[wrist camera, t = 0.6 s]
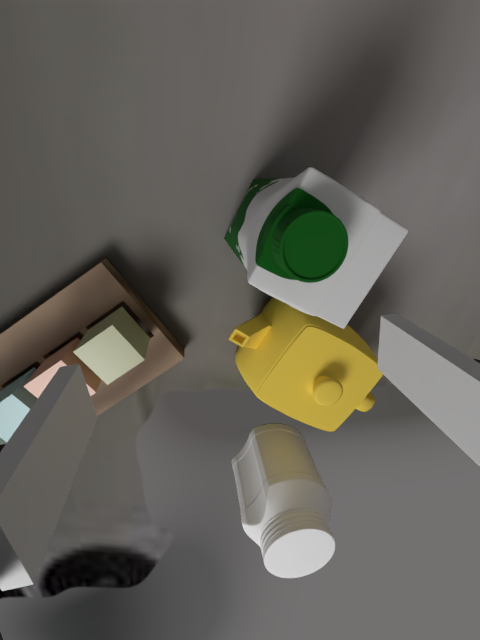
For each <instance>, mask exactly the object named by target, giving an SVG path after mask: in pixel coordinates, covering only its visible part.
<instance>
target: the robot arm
mask: <svg viewBox="0 0 480 640" xmlns="http://www.w3.org/2000/svg"><path fill="white" fill-rule="evenodd" d="M377 369H378V370H379V371H380V372H381V373H382V374H383V375H384V376H386V377H387V378H388V379H389V380H390V381H391V382H392V383H393V384H394V385H395V386H396V387H397V388H398V389H399V390H400V391H401V392H402V393H403V394H404V395H405V396H407V397H408V398H409V399H410V400H411V401H412V402H413V403H414V404H415V405H416V406H417V407H418V408H419V409H420V410H421V411H422V412H423V413H424V414H425V415H426V416H427V417H428V418H429V419H430V420H432V421H433V422H434V423H435V424H436V425H437V426H438V427H439V428H440V429H441V430H442V431H443V432H444V433H445V434H446V435H447V436H448V437H449V438H450V439H451V440H453V441H454V442H455V443H456V444H457V445H458V446H459V447H460V448H461V449H462V450H463V451H464V452H465V453H466V454H467V455H468V456H469V457H470V458H471V459H473V461H474V462H475V463H477V464H478V465H479V466H480V360H477V359H472V358H470V357H468V356H467V355H465V354H463V353H462V352H460V351H458V350H457V349H455V348H453V347H452V346H450V345H448V344H447V343H445V342H444V341H442V340H440V339H439V338H437V337H435V336H434V335H432V334H430V333H429V332H427V331H425V330H424V329H422V328H420V327H419V326H417V325H415V324H414V323H412V322H410V321H409V320H407V319H405V318H404V317H402V316H401V315H399V314H397V313H396V314H390V315H383V316H381V323H380V337H379V351H378V364H377ZM97 418H98V417H97V414H96V411H95V409H94V406H93V403H92V400H91V397H90V394H89V391H88V388H87V385H86V382H85V379H84V376H83V373H82V370H81V367H80V364H75V365H69V366H62V367H60V368H59V369H58V370H57V372H56V373H55V375H54V376H53V378H52V379H51V380H50V382H49V383H48V385H47V386H46V388H45V389H44V390H43V392H42V393H41V395H40V396H39V398H38V399H37V400H36V402H35V403H34V405H33V406H32V408H31V409H30V410H29V412H28V413H27V415H26V416H25V418H24V419H23V420H22V422H21V423H20V425H19V426H18V428H17V429H16V430H15V432H14V433H13V435H12V436H11V438H10V439H9V440H8V442H7V443H6V444H2V445H0V588H1V590H2V591H5V590H10V589H14V588H19V587H23V586H28V585H32V584H34V582H35V579H36V577H37V574H38V572H39V569H40V566H41V564H42V561H43V559H44V556H45V553H46V551H47V548H48V545H49V543H50V540H51V538H52V535H53V532H54V530H55V527H56V525H57V522H58V519H59V517H60V514H61V512H62V509H63V506H64V504H65V501H66V499H67V496H68V493H69V491H70V488H71V486H72V483H73V480H74V478H75V475H76V473H77V470H78V467H79V465H80V462H81V460H82V457H83V454H84V452H85V449H86V446H87V444H88V441H89V439H90V436H91V433H92V431H93V428H94V426H95V423H96V420H97ZM0 640H3V638H2V635H1V633H0Z"/></svg>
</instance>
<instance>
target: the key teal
mask: <svg viewBox="0 0 480 640" xmlns="http://www.w3.org/2000/svg"><path fill="white" fill-rule="evenodd" d="M35 371H36V369H35V368H32V369H31V370H30V371H28V372H27V373H25V374H24V375H22V376H21V377H20V378H18V379H17V380H15V381H14V382H12V383H11V384H9V385H8V386H7V387H5V388H4V389H2V390H1V391H0V438H1V439H3V440H4V441H5V442H8V440H9V439H10V438H11V436H12V435H13V433H14V432H15V430H16V429H17V428H18V426H19V425H20V423H21V422H22V420H23V419H24V418H25V416H26V415H27V413H28V412H29V410H30V409H31V408H32V406H33V405H34V403H35V402H36V400H37V399H38V398H37V397H35V396H34V395H33V394H32V393H31V392H29V391H28V390H27V389H26V388H25V387H23V386H24V385H25V384H26V382H27V381H28V380H29V379H30V377H31V376H32V375H33V374H34V372H35Z"/></svg>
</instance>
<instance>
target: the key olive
mask: <svg viewBox="0 0 480 640" xmlns="http://www.w3.org/2000/svg"><path fill="white" fill-rule="evenodd" d="M149 340H150V337H149V336H148V335H147V334H146V333H145V332H144V331H143V330H142V328H141V327H140V326H139V325H138V324H137V323H136V322H135V321H134V319H133V318H132V317H131V316H130V315H129V314H128V313H127V312H126V310H125V309H124V308H123V307H120V308H119V309H118V310H116V311H115V312H113V313H112V314H110V315H109V316H107V317H106V318H105V319H103V320H102V321H100V322H99V323H97V324H96V325H94V326H93V327H92V328H90V329H89V330H87V332H86V333H85V335H84V336H83V338H82V339H81V341H80V342H79V344H78V345H77V347H76V348H75V350H74V351H73V353H74V354H75V355H77V356H78V357H79V358H80V359H81V360H82V361H83V362H84V363H85V364H86V365H87V366H88V367H89V368H90V369H91V370H92V371H93V372H94V373H95V374H96V375H97V376H98V377H99V378H101V379H102V380H103V381H104V382H105V383H106V384H107V385H108V384H110V383H111V382H113V381H114V380H116V379H117V378H119V377H120V376H122V375H123V374H125V373H126V372H128V371H129V370H131V369H132V368H134V367H135V366H137V365H138V364H140V363H141V362H142V361H144V360H145V357H146V353H147V349H148V344H149Z"/></svg>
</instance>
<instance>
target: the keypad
mask: <svg viewBox="0 0 480 640" xmlns="http://www.w3.org/2000/svg"><path fill="white" fill-rule="evenodd" d="M120 307H123V308H124V309H125V310H126V312H127V313H128V314H129V315H130V316H131V317H132V318H133V319H134V321H135V322H136V323H137V324H138V325H139V326H140V327H141V328H142V330H143V331H144V332H145V333H146V334H147V335H148V336H149V337H150V340H149V344H148V349H147V353H146V357H145V360H144V361H142V362H141V363H140V364H138V365H137V366H135V367H134V368H132V369H131V370H129V371H128V372H126V373H125V374H123V375H122V376H120V377H119V378H117V379H116V380H114V381H113V382H111V383H110V384H108V385H107V384H106V383H105V382H104V381H103V380H101V382H100V385H99V387H98V389H97V392H96V393H95V394H93V395H92V396H90V397H91V400H92V403H93V406H94V409H95V411H96V414H97V416H98V415H100V414H101V413H103V412H104V411H106V410H107V409H109V408H110V407H112V406H113V405H115V404H116V403H118V402H119V401H121V400H122V399H124V398H125V397H127V396H129V395H130V394H132V393H133V392H135V391H136V390H138V389H139V388H141V387H142V386H144V385H145V384H147V383H148V382H150V381H151V380H153V379H154V378H156V377H157V376H159V375H160V374H162V373H163V372H165V371H166V370H168V369H169V368H171V367H172V366H174V365H175V364H177V363H178V362H180V361H181V360H183V359H184V348H183V347H182V346H181V344H180V343H179V342H178V341H177V340H176V339H175V337H174V336H173V335H172V334H171V333H170V331H169V330H168V329H167V328H166V327H165V326H164V324H163V323H162V322H161V321H160V320H159V319H158V317H157V316H156V315H155V314H154V313H153V311H152V310H151V309H150V308H149V307H148V306H147V304H146V303H145V302H144V301H143V300H142V298H141V297H140V296H139V295H138V294H137V293H136V291H135V290H134V289H133V288H132V287H131V286H130V284H129V283H128V282H127V281H126V280H125V278H124V277H123V276H122V275H121V274H120V273H119V271H118V270H117V269H116V268H115V267H114V266H113V264H112V263H111V262H110V261H109V260H108V258H107V257H106V258H105V259H104V260H102V261H101V262H99V263H98V264H97V265H95V266H94V267H92V268H91V269H90V270H88V271H87V272H85V273H84V274H83V275H81V276H80V277H78V278H77V279H76V280H74V281H73V282H71V283H70V284H69V285H67V286H66V287H64V288H63V289H62V290H60V291H59V292H57V293H56V294H55V295H53V296H52V297H50V298H49V299H48V300H46V301H45V302H43V303H42V304H41V305H39V306H38V307H36V308H35V309H34V310H32V311H31V312H29V313H28V314H27V315H25V316H24V317H22V318H21V319H20V320H18V321H17V322H15V323H14V324H13V325H11V326H10V327H8V328H7V329H6V330H4V331H3V332H1V333H0V391H1V390H2V389H4V388H5V387H7V386H8V385H9V384H11V383H12V382H14V381H15V380H17V379H18V378H20V377H21V376H22V375H24V374H25V373H27V372H28V371H30V370H31V369H32V368H35V369H36V370H37V369H38V367H39V366H40V365H41V364H42V362H43V361H44V360H45V359H47V358H48V357H50V356H51V355H53V354H54V353H56V352H57V351H58V350H60V349H61V348H63V347H64V346H66V345H67V344H69V343H70V342H71V341H73V340H74V339H76V338H78V339H79V340H80V341H81V339H82V338H83V336H84V335H85V333H86V332H87V330H89V329H90V328H92V327H93V326H94V325H96V324H97V323H99V322H100V321H102V320H103V319H105V318H106V317H107V316H109V315H110V314H112V313H113V312H115V311H116V310H118V309H119V308H120Z"/></svg>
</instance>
